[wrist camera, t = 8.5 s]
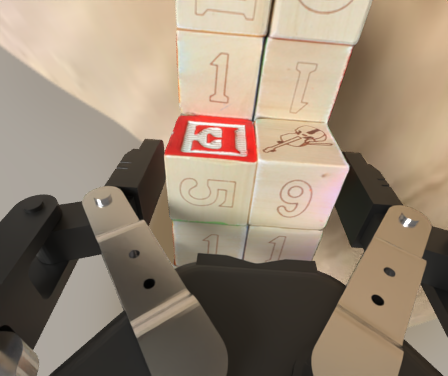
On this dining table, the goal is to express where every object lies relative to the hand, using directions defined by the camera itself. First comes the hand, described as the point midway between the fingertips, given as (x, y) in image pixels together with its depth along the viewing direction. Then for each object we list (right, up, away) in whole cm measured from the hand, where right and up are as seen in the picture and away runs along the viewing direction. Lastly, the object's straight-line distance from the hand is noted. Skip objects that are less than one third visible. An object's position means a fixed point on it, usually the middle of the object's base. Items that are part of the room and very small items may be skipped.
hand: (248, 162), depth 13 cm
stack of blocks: (0, +6, +7) cm, 9 cm away
